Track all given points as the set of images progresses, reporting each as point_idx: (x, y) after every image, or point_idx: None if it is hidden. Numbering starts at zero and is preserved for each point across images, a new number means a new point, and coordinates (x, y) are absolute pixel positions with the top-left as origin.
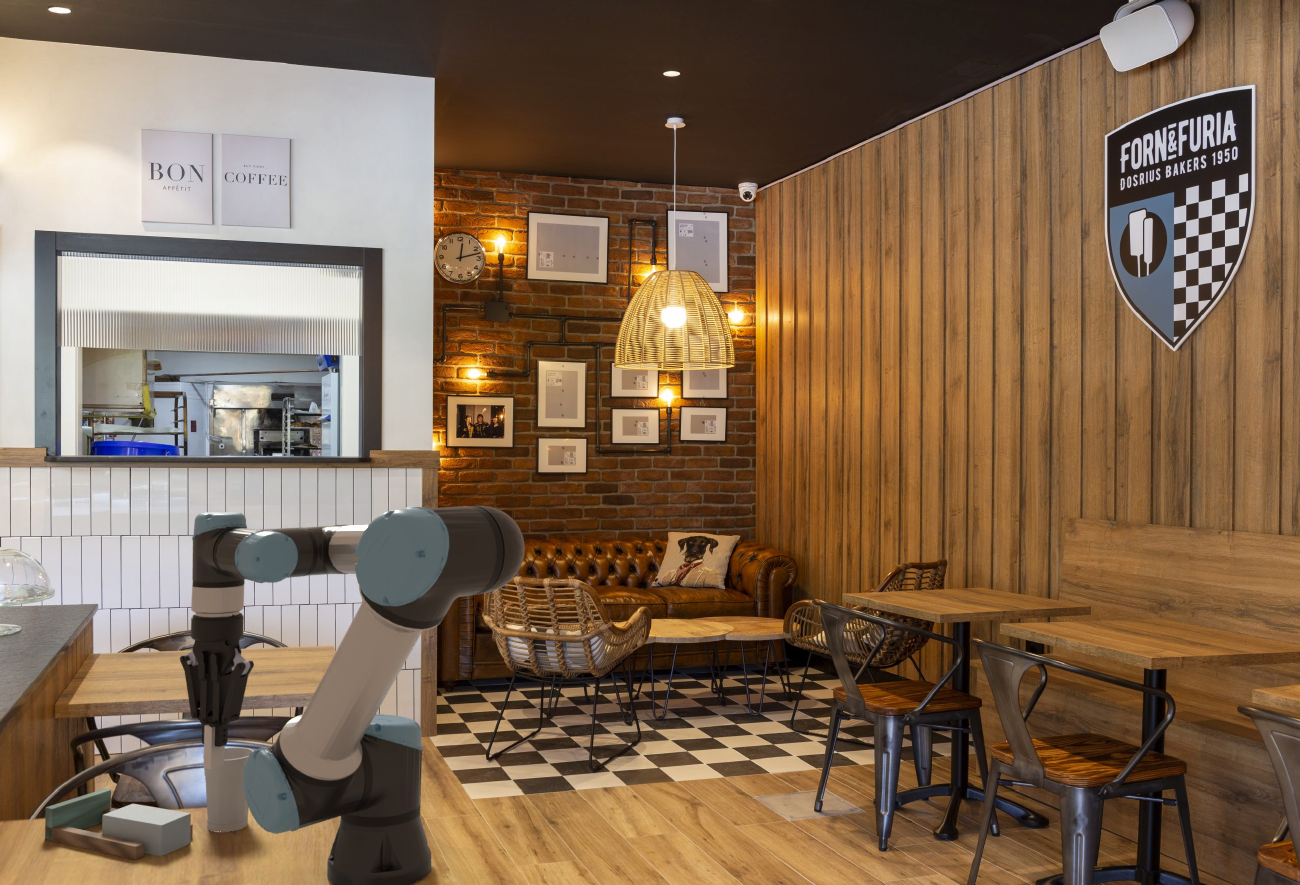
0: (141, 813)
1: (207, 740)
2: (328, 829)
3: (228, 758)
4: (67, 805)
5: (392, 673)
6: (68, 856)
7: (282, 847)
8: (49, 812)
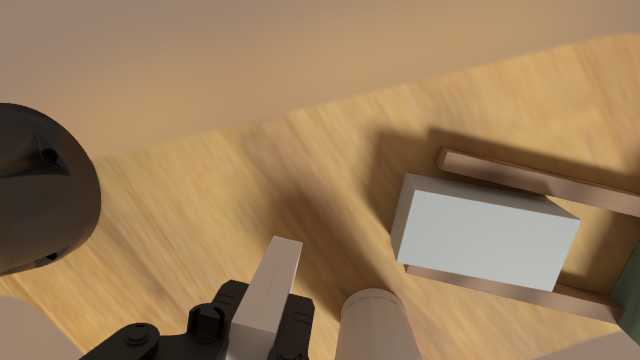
0: (499, 243)
1: (270, 289)
2: None
3: None
4: None
5: None
6: (581, 135)
7: (229, 248)
8: None
